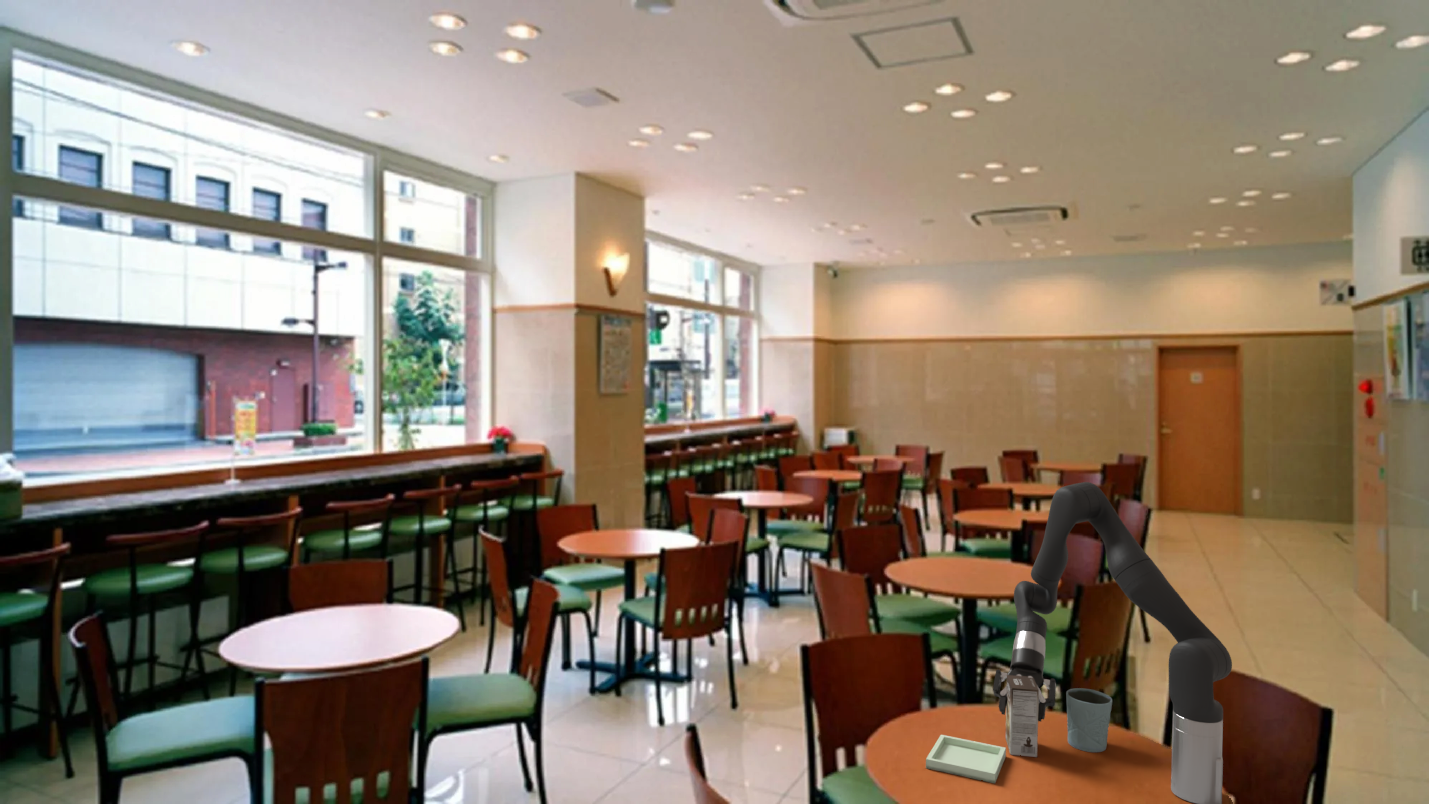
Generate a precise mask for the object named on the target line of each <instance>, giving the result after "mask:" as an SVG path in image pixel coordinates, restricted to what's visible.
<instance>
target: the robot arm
mask: <svg viewBox="0 0 1429 804" xmlns="http://www.w3.org/2000/svg"><path fill="white" fill-rule="evenodd" d="M1084 522H1089V523H1090V525H1091V526H1092V527H1093V528H1094V529H1095V530H1096V532H1097V533H1098V535H1099V536H1100V539H1101V540H1102V542H1103V545H1104V548H1105V549H1104V550H1105V555H1106V562H1107V567H1108V571H1109V573H1110V574H1109V575H1111V578H1112V579H1113V581H1115V583H1116V584H1117V585H1118V587H1119V588H1120V589H1121V591H1122V592H1123V593H1124V595H1125V596H1126V598H1128V599H1129V600H1130V601H1131V602H1132V603H1133V604H1134V605H1136V606H1137V607H1138V608H1139V609H1140V610H1142V611H1143V612H1145V613H1146V614H1148V615H1149V616H1150V617H1152V618H1153V619H1155V620H1156V621H1157V622H1158V623H1160V624H1161V625H1162V626H1163V627H1164V628H1165V629H1166V630H1167V631H1168V632H1169V633H1170V634H1171V635H1172V636H1173V638H1174V640H1176V642H1177V643H1176V644H1174V645H1173V646H1172V648H1171V649H1170V652H1169V655H1168V690H1169V691H1168V692H1169V697H1170V698H1169V699H1170V700H1171V702H1172V733H1171V737H1172V738H1171V747H1172V748H1171V773H1170V774H1171V775H1170V777H1171V778H1170V790H1171V792H1172V793H1173V794H1174V795H1175V796H1177V798H1180V799H1182V800H1184V801H1187V802H1189V803H1192V804H1223V777H1224V775H1223V771H1224V770H1223V769H1224V768H1223V767H1224V765H1223V764H1224V760H1223V736H1224V735H1223V731H1224V729H1223V727H1224V723H1223V722H1224V708H1223V705H1222V704H1221V703H1220V702H1219V701H1218V700H1216V699H1214V698H1215V697H1214V682H1218V681H1220V680H1223V679H1225V678H1226V677H1228V676H1229V675H1230V673H1231V672H1232V668H1233V662H1232V657H1231V655H1230V652H1229V651H1228V649H1227V648H1226V646H1225V645H1224V644H1223V642H1222V641H1221V640H1220V639H1219V638H1218V637H1217V636H1216V635H1215V634H1214V633H1213V631H1211V630H1210V629H1209V627H1208V626H1207V625H1205V623H1204V622H1203V621H1202V620H1201V619H1200V618H1199V617H1197V615H1196V614H1195V613H1194V612H1193V611H1192V609H1191V608H1190V607H1189V605H1188V604H1187V603H1186V602H1185V601H1184V599H1183V598H1182V597H1181V595H1180V594H1179V593H1178V591H1177V590H1175V588H1174V587H1173V586H1172V585H1171V583H1170V582H1169V581H1168V580H1167V578H1166V577H1165V575H1164V573H1163V572H1162V571H1161V570H1160V569H1159V567H1158V565H1156V564H1155V562H1154V561H1153V560H1152V558H1151V557H1150V556H1149V554H1147V553H1146V552H1145V550H1144V549H1143V548H1142V546H1141V545H1140V544H1139V542H1138V541H1137V540H1136V538H1135V537H1134V535H1132V533H1131V532H1130V531H1129V529H1128V527H1126V525H1125V524H1124V522H1123V520H1122V519H1121V518H1120V516H1119V515H1118V513H1117V511H1116V510H1115V509H1114V507H1113V505H1112V503H1111V501H1109V498H1108V497H1107V496H1106V494H1105V493H1104V492H1103V491H1102V489H1101V488H1100V487H1099V486H1097V485H1096V484H1094V483H1092V482H1090V481H1083V482H1078V483H1073V484H1068V485H1065V486H1061V487H1060V488H1058V489H1057V490H1056V491H1055V492H1054V494H1053V497H1052V498H1051V503H1050V506H1049V512H1048V518H1047V523H1046V524H1045V525H1046V526H1045V531H1044V536H1043V540H1042V543H1041V546H1040V549H1039V552H1038V554H1037V556H1036V559H1035V562H1034V564H1033V566H1032V568H1031V571H1030V577H1031V579H1032V580H1033V582H1032V581H1029V580H1022V581H1020V582H1018V583H1017V584H1016V586H1015V587H1014V590H1013V600H1014V605H1015V606H1014V607H1015V610H1016V617H1017V624H1016V632H1015V638H1014V640H1013V646H1012V647H1013V648H1012V653H1011V661H1010V668H1009V671H1008V672H1003V671H1002V670H1001V669H996V670H995V675H994V676H995V677H994V680H993V686H992V692H993V695H994V697H998V698H999V703H998V710H999V712H1000V713H1001V715H1005V716H1006V703H1007V700H1006V694H1007V684H1006V685H1005V687H1003V689H1002V690H1000V689H1001V685H1002V682H1005V681H1006V680H1007V675H1013V676H1028V678H1033V677H1034V680H1035V682H1036V684H1037V687H1038V689H1039V707H1038V722H1042V720H1045V718H1046V708H1047V707H1054V706H1055V705H1056V704H1055V703H1056V693H1057V691H1056V690H1057V689H1056V688H1057V682H1056V679H1055V678H1053V677H1052V678H1050V679H1045V678H1044V676H1043V675H1044V668H1045V667H1044V665H1045V659H1046V638H1047V628H1048V625H1047V621H1046V619H1045V618H1044V617H1042V616H1041V615H1039V614H1042V615H1050V614H1052V613H1053V612H1054V611H1055V610H1056V607H1057V604H1058V589H1059V584H1060V581H1061V578H1062V576H1063V573H1064V572H1065V570H1066V568H1067V565H1068V562H1069V561H1068V560H1069V551H1068V546H1067V540H1068V536H1069V535H1070V532H1072V529H1073V528H1074V527H1075V525H1076V524H1079V523H1084ZM1034 582H1035V583H1034ZM1044 685H1045V687H1046V689H1047V690H1049V691H1048V697H1047V698H1045V696H1044V695H1043V694H1042V690H1041V688H1042V687H1043V686H1044Z"/></svg>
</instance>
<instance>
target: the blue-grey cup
mask: <svg viewBox="0 0 1429 804" xmlns="http://www.w3.org/2000/svg"><path fill="white" fill-rule="evenodd" d="M1065 695H1066V718H1067V721H1066V722H1067V723H1066V725H1067V727H1066V728H1067V743H1068V745H1070V746H1071V747H1072V748H1074V749H1076V750H1080V751H1083V752H1088V753H1101V752H1104V751H1106V749H1107V744H1108V737H1109V736H1108V735H1109V734H1108V733H1109V727H1110V726H1109V725H1110V721H1111V711H1112V708H1113V707H1112V705H1113V698H1112V697H1111V696H1110V695H1109V694H1106V693H1104V692H1101V691H1098V690H1095V689H1092V688H1091V689H1090V688H1082V687H1081V688H1080V687H1079V688H1078V687H1077V688H1070V689H1068V690H1066V692H1065Z"/></svg>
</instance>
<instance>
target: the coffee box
mask: <svg viewBox="0 0 1429 804" xmlns="http://www.w3.org/2000/svg"><path fill="white" fill-rule="evenodd" d="M1006 685H1007V694H1006V700H1007V703H1006V710H1005V741H1006V744H1007V747H1008V751H1009V754H1010V755H1011V756H1020V755H1021V756H1022V757H1031V758H1032V757H1034V758H1038V736H1039V733H1038V732H1039V731H1038V730H1039V721H1038V707H1039V689H1038V687H1037V684H1036V682H1035V680H1034V677H1033V678H1028V676H1013V675H1007V678H1006ZM1021 756H1020V757H1021Z"/></svg>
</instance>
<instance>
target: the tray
mask: <svg viewBox="0 0 1429 804" xmlns="http://www.w3.org/2000/svg"><path fill="white" fill-rule="evenodd" d="M1006 754H1007V748H1006V746H1005V747H1004V746H999V745H995V744H989V743H985V742H980V741H974V740H970V739H965V738H960V737H956V736H950V735H946V734H940V735H939V737H938V739H937V740H936V742H935V744H934V745H933V747H932V749H931V750H930V752H929V753H928V754H927V756H926V759H925V769H929V770H932V771H937V772H941V773H947V774H951V775H956V776H960V777H965V778H968V779H972V780H977V781H981V780H983V781H982V782H987V783H991V784H996V782H997V779H998V777H999V774H1000V772H1001V769H1002V767H1003V764H1004V762H1005V760H1006V757H1007V755H1006Z"/></svg>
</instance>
